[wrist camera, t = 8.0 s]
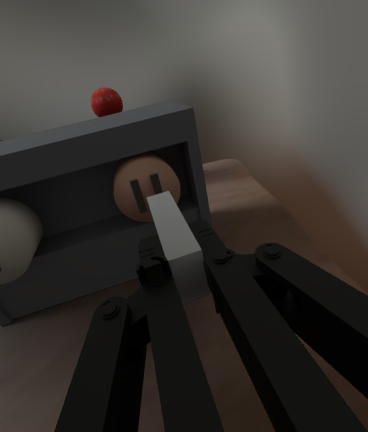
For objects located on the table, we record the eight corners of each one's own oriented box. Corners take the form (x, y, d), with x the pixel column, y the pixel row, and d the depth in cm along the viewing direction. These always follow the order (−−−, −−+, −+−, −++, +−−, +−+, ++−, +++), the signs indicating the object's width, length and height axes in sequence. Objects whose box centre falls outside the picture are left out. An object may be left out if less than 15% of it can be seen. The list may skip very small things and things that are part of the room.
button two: (124, 210, 26) (104, 158, 23) (176, 195, 27) (164, 142, 24) (126, 231, 23) (103, 172, 19) (186, 213, 23) (173, 153, 20)
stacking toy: (109, 202, 46) (65, 96, 36) (122, 184, 53) (88, 90, 43) (148, 197, 45) (113, 85, 35) (156, 179, 51) (129, 81, 42)
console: (29, 265, 33) (-50, 153, 25) (192, 214, 36) (168, 100, 28) (1, 326, 25) (-133, 189, 17) (216, 254, 28) (193, 107, 20)
